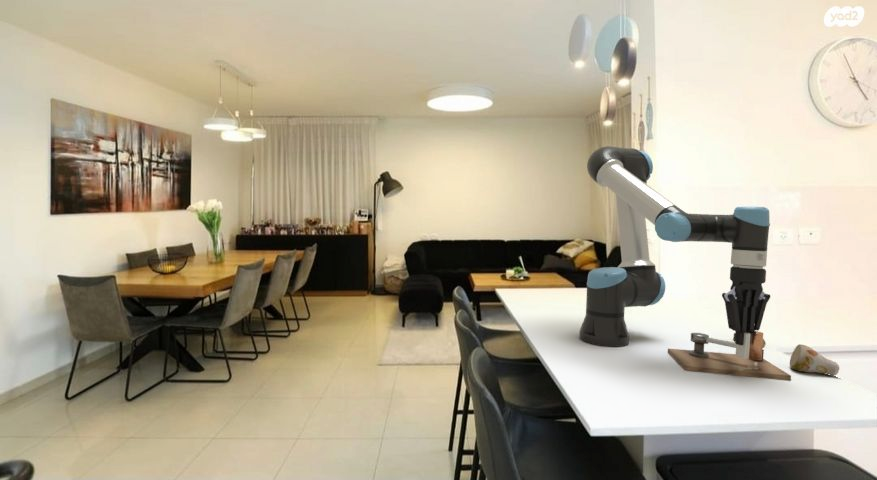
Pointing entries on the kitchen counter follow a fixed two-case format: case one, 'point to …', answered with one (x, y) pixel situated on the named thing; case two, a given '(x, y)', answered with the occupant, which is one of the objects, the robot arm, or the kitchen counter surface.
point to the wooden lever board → (726, 363)
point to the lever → (754, 350)
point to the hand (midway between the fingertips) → (742, 357)
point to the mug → (812, 361)
